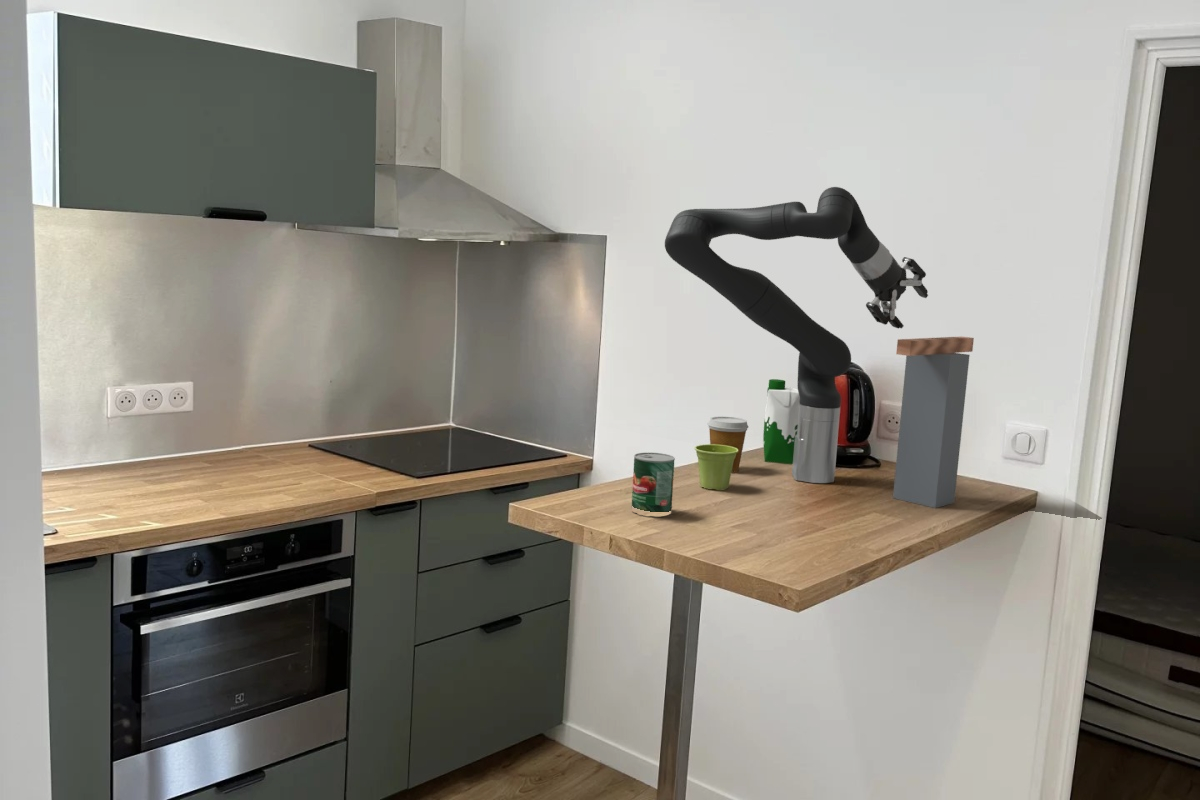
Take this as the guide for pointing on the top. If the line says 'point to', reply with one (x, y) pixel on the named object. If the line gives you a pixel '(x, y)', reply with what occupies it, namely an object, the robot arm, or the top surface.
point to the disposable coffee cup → (729, 435)
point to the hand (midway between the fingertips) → (912, 311)
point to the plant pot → (715, 465)
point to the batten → (934, 345)
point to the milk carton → (780, 422)
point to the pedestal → (931, 428)
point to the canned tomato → (653, 482)
